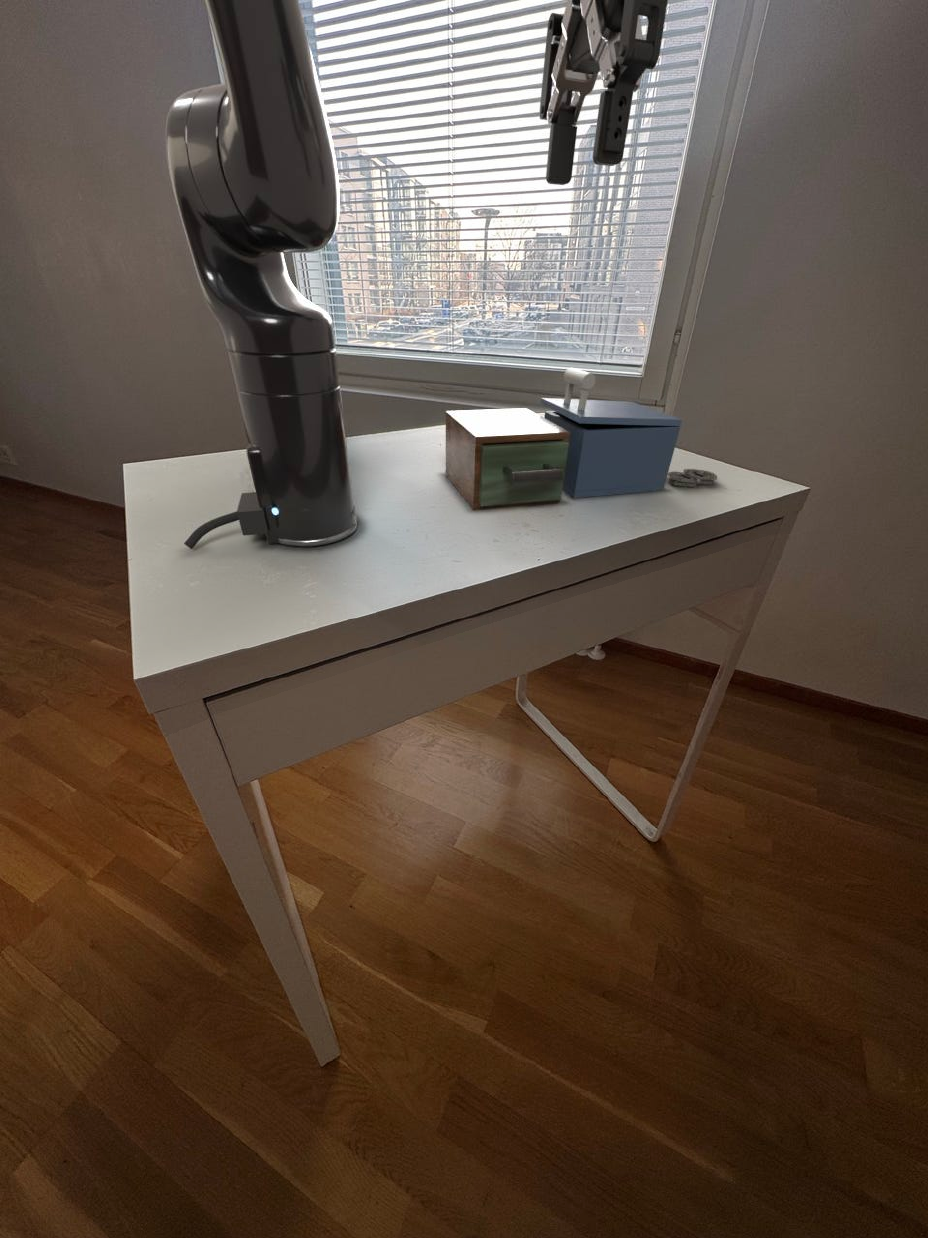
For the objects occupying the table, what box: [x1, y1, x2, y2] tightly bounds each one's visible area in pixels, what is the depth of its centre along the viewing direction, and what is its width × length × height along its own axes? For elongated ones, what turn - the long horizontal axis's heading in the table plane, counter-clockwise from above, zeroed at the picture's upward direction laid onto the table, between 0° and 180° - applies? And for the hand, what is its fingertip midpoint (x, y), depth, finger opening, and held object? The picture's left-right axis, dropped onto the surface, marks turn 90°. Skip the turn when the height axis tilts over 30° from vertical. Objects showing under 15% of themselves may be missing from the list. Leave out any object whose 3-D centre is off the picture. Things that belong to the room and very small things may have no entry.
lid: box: [540, 367, 683, 427], centre depth 61 cm, size 14×12×5 cm
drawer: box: [478, 440, 569, 506], centre depth 59 cm, size 16×10×7 cm, turn 16°
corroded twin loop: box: [667, 468, 718, 488], centre depth 67 cm, size 5×8×1 cm, turn 117°
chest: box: [543, 410, 681, 499], centre depth 65 cm, size 14×12×8 cm
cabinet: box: [445, 407, 570, 511], centre depth 62 cm, size 14×12×9 cm
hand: (580, 174), depth 39 cm, fingers open, 8 cm apart
